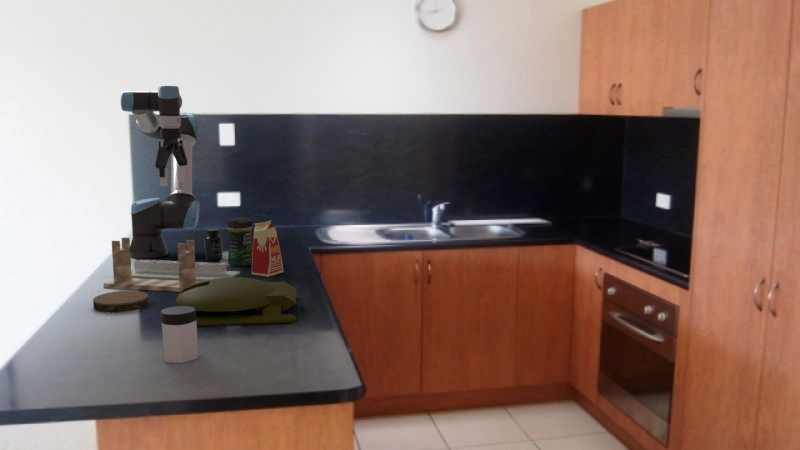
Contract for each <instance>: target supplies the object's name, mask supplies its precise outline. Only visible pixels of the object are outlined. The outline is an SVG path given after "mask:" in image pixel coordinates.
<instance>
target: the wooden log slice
mask: <svg viewBox="0 0 800 450" xmlns="http://www.w3.org/2000/svg"><path fill="white" fill-rule="evenodd" d="M92 302H93V305H92V306H93V310H95V311H97V312H100V313H101V312H102V313H108V312H110V313H112V312H115V313H124V312H133V311H137V310H140V309H143V308H145V307H147V306H148V305H149V303H150V302H149V294H148V293H147V292H145V291H140V290H139V291H138V290H122V291H121V290H120V291H119V290H118V291H111V292H106V293H102V294H99V295H97V296H95V297H93V298H92Z"/></svg>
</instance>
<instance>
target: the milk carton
mask: <svg viewBox="0 0 800 450" xmlns="http://www.w3.org/2000/svg"><path fill="white" fill-rule="evenodd" d="M271 222H272V220H268V221H267V220H266V221H263V222H257V223H255V222H254V223H253V225H254V226H255V227H254V228H253V229H254V230H253V237H252V238H253V239H252V264H251V275H255V276H262V277H267V278H268V277H272V276H275V275H278V274H282V273H284V265H283V257H282V253H281V248H280V243H279V238H278V233H277V229H276V226H275V225H273V223H271Z"/></svg>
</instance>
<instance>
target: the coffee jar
mask: <svg viewBox="0 0 800 450" xmlns="http://www.w3.org/2000/svg"><path fill="white" fill-rule="evenodd" d="M226 229H227V232H228V251H227V252H228V254H227V265H229V266H231V267H246V266H249V265H252V249H253V240H252V231H253V229H254V226H253V221H252V218H251V217H246V216H241V217H234V218H231V219H230V218H229V219H228V220H227V227H226Z"/></svg>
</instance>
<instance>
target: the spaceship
mask: <svg viewBox="0 0 800 450" xmlns="http://www.w3.org/2000/svg"><path fill="white" fill-rule="evenodd" d="M198 282H199V283H196V284H194V285H191V286H189V287H187V288H186V289H184V290H183V291H182V292H179V293H178V295H177V296H176V299H175V302H176V304H177V306H191V307H194V308H195V309H196V311H199V312H215V313H216V312H218V313H221V312H225V313H226V312H238V311H246V310H247V311H248V310H254V309H255V310H256V311H257V312H260V313H262V314H245V315H243V314H242V315H241V314H240V315H217V316H215V315H213V316H212V315H211V316H210V315H208V316H196V322H197V328H198V327H224V326H225V327H226V326H229V327H230V326H231V327H232V326H255V325H256V326H257V325H259V326H261V325H281V324H282V325H283V324H284V323H288V324H292V323H294V322H295V321H296V320H297V317H296V315H295V314H294V315H293V314H291V313H282V312H285V311H287V310H289V308H291V307H292V306H294V305H296V303H297V288H296V287H294V286H292V285H291V284H290V283H288V282H286V281H265V280H261V279H257V278H251V277H242V276H241V277H240V276H235V277H229V278H218V279H211V280H207V281H198Z"/></svg>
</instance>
